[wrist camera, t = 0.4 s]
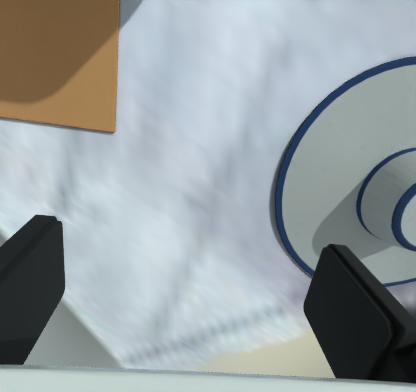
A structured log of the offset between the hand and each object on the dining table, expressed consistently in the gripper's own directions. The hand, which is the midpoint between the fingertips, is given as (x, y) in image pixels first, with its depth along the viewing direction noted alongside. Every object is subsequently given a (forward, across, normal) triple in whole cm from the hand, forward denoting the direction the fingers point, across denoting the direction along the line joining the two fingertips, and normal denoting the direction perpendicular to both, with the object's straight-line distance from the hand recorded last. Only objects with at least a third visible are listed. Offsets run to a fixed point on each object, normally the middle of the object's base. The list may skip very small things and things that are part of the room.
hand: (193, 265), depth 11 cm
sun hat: (+31, -31, +5) cm, 44 cm away
